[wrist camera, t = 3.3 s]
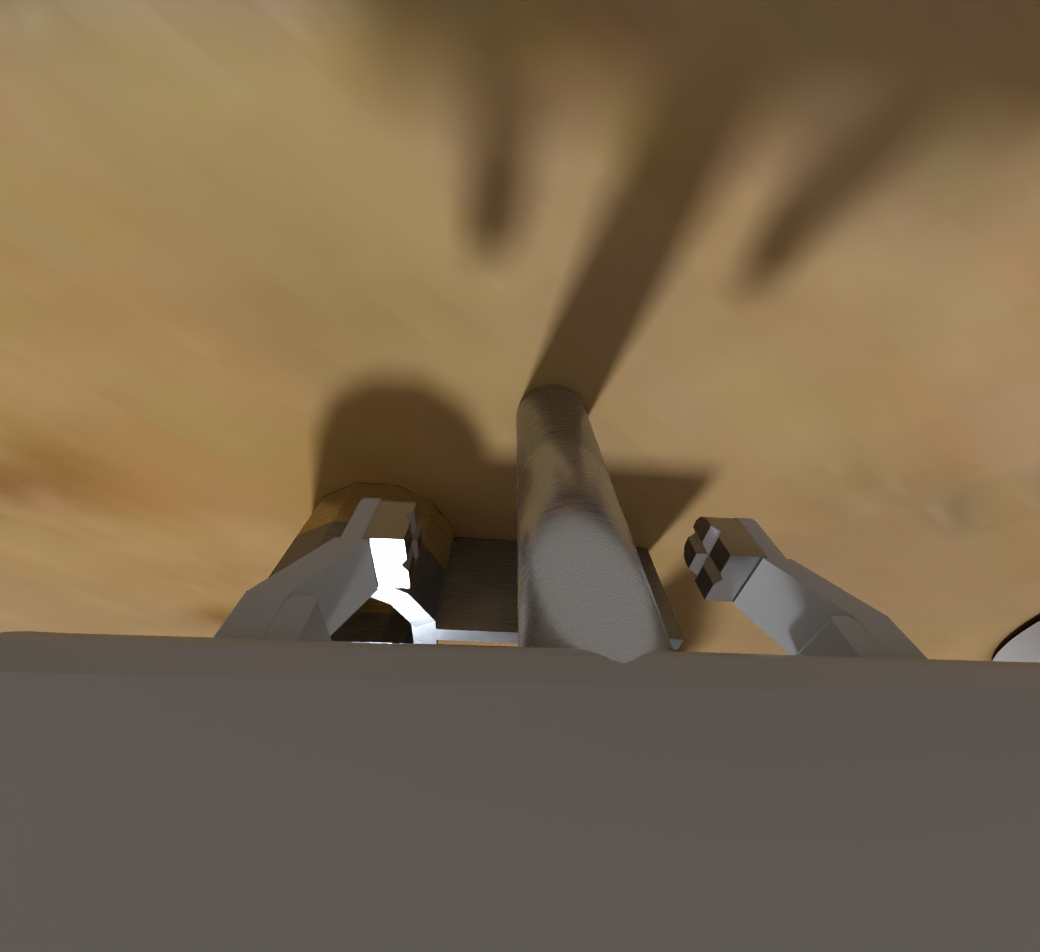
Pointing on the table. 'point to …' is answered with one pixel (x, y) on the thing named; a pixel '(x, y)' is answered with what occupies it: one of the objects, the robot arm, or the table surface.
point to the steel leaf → (453, 594)
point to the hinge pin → (576, 540)
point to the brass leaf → (347, 499)
